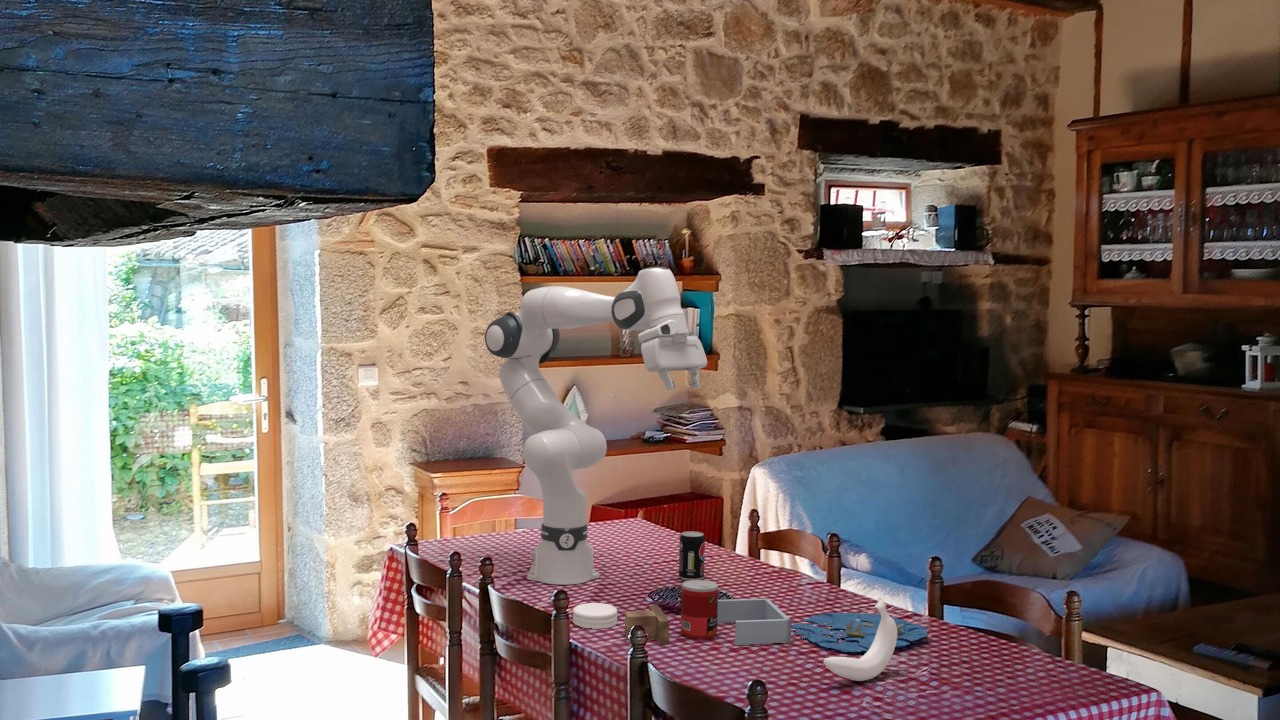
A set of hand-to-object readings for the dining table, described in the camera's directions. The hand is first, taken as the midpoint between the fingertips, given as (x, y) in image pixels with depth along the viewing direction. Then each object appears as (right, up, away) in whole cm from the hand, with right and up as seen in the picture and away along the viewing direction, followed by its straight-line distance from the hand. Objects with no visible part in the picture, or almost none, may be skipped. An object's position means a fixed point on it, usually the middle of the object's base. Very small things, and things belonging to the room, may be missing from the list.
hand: (683, 388), depth 252 cm
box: (+14, -53, -16) cm, 57 cm away
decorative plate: (+38, -54, -16) cm, 68 cm away
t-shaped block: (-10, -53, -20) cm, 57 cm away
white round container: (-20, -53, -11) cm, 57 cm away
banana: (+33, -55, -44) cm, 78 cm away
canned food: (+3, -53, -18) cm, 56 cm away
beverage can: (+3, -51, +29) cm, 58 cm away
